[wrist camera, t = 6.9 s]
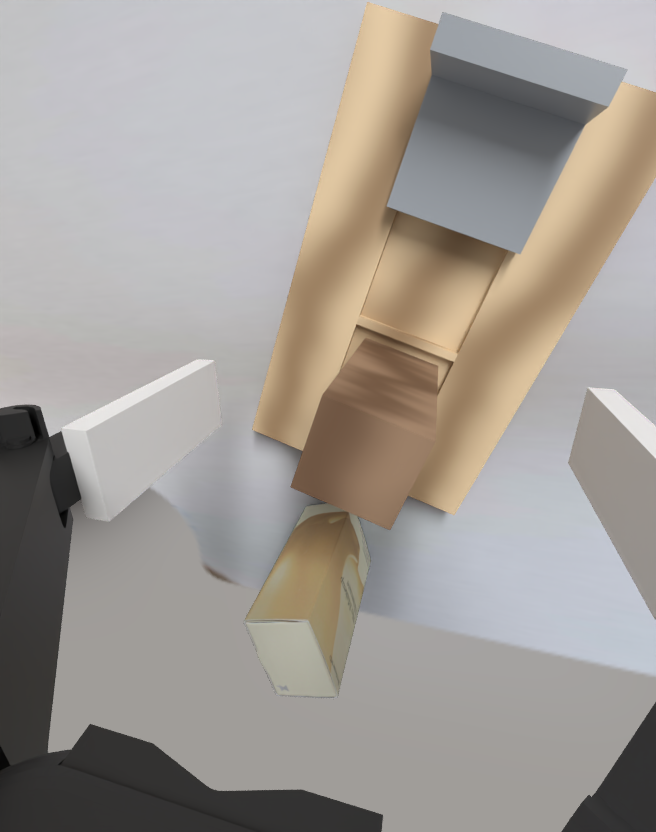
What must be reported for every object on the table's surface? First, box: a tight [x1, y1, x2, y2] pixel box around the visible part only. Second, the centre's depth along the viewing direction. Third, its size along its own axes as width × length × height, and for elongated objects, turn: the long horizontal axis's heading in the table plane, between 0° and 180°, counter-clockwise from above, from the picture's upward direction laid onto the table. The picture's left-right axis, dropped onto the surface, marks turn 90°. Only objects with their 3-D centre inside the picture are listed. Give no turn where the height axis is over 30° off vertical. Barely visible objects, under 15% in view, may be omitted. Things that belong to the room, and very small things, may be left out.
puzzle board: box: [252, 2, 656, 515], centre depth 26 cm, size 16×25×2 cm, turn 162°
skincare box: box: [244, 503, 371, 698], centre depth 30 cm, size 6×4×12 cm
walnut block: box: [291, 338, 438, 530], centre depth 23 cm, size 5×5×11 cm
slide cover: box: [387, 12, 627, 254], centre depth 19 cm, size 7×7×4 cm
